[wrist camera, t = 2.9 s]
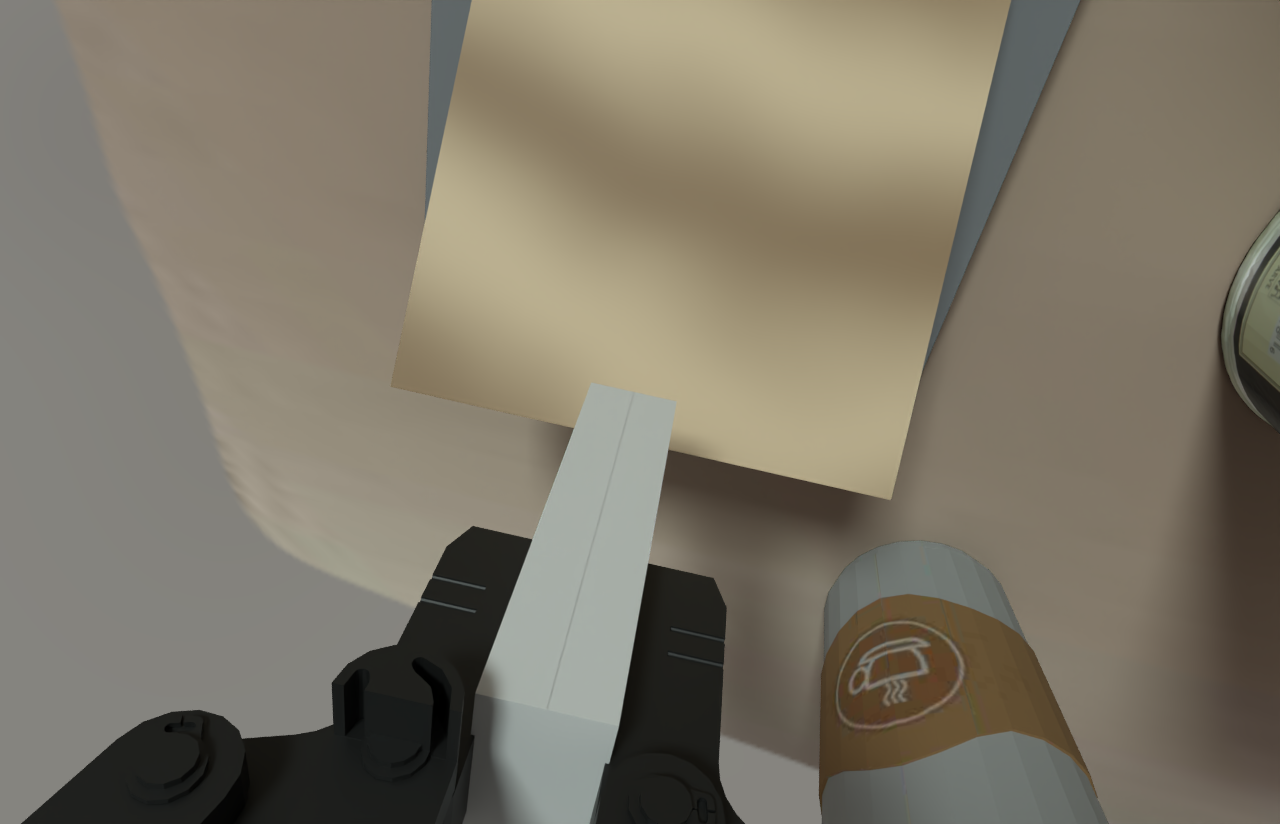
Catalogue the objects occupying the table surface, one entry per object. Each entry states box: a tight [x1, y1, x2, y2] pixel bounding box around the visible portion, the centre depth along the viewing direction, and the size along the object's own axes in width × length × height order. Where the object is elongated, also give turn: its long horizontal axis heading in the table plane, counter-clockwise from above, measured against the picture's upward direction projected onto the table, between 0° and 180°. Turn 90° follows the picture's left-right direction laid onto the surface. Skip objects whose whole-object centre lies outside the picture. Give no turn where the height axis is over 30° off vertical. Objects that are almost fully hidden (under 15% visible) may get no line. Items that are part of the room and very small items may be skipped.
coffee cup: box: [819, 541, 1108, 824], centre depth 24 cm, size 8×8×15 cm
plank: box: [390, 0, 1011, 500], centre depth 18 cm, size 12×11×1 cm
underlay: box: [425, 0, 1080, 374], centre depth 20 cm, size 18×15×3 cm
